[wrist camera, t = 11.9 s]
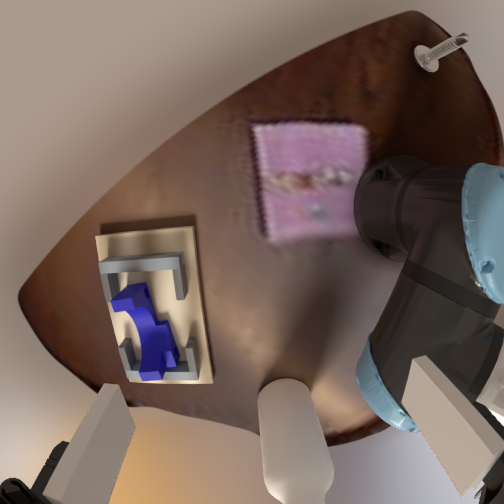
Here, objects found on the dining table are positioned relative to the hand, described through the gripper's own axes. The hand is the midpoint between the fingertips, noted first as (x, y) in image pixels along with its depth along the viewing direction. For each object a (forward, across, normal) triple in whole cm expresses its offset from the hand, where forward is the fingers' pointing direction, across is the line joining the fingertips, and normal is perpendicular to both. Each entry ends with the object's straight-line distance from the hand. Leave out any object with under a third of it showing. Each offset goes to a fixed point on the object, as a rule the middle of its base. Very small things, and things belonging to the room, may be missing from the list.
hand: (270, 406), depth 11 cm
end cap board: (+29, +14, +8) cm, 33 cm away
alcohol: (+29, -4, +25) cm, 38 cm away
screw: (+29, -29, -29) cm, 50 cm away
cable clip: (+27, +14, +8) cm, 32 cm away
